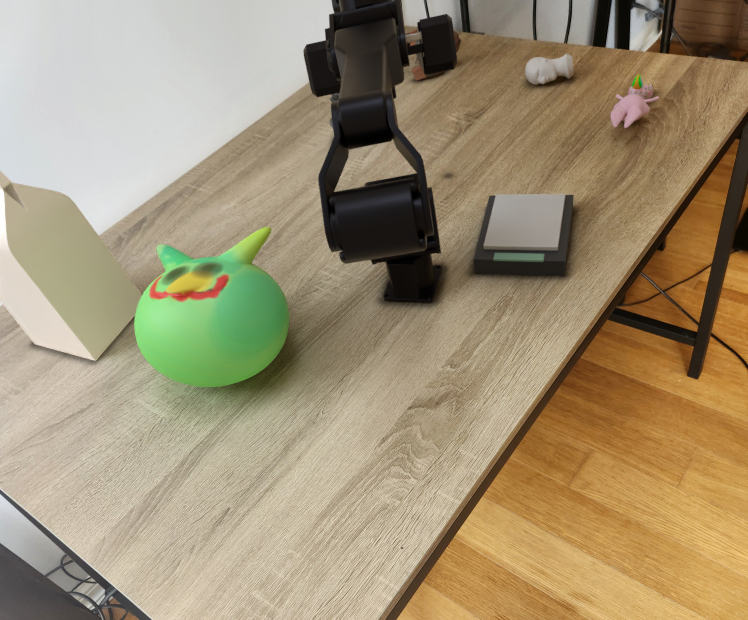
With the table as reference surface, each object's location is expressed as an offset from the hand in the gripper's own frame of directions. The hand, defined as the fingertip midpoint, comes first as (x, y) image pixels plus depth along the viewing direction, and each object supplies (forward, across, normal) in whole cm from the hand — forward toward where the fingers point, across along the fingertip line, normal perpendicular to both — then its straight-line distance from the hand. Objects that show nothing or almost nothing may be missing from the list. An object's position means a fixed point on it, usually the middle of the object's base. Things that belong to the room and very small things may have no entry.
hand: (384, 57), depth 89 cm
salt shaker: (+17, +9, +11) cm, 22 cm away
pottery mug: (+35, -6, +3) cm, 35 cm away
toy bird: (-26, +23, +30) cm, 46 cm away
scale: (-14, -15, +25) cm, 32 cm away
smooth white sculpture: (+22, -25, +8) cm, 35 cm away
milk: (-16, +46, +26) cm, 55 cm away
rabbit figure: (+8, -35, +15) cm, 39 cm away
